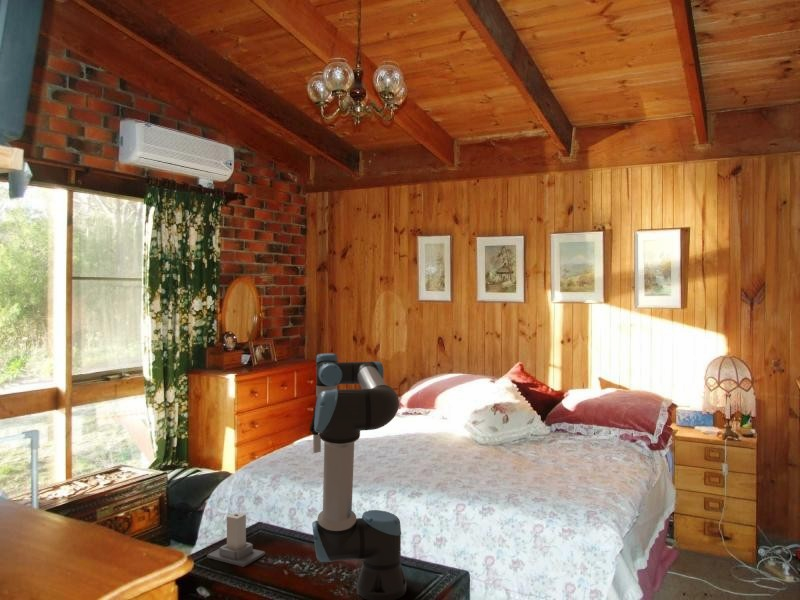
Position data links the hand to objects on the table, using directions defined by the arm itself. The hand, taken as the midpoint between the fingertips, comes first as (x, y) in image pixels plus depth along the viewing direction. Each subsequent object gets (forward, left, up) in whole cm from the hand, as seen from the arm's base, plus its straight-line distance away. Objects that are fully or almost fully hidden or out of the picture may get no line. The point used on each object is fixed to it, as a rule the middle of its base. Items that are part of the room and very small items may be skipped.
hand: (326, 456), depth 228 cm
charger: (+10, +30, -31) cm, 44 cm away
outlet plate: (+10, +30, -32) cm, 45 cm away
